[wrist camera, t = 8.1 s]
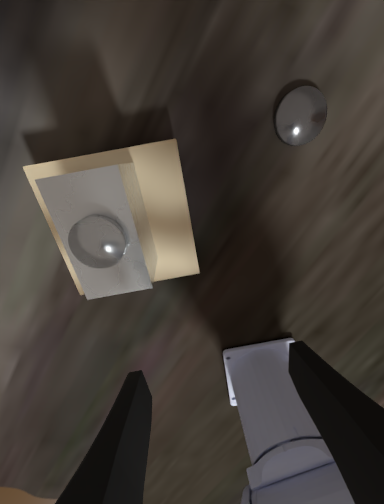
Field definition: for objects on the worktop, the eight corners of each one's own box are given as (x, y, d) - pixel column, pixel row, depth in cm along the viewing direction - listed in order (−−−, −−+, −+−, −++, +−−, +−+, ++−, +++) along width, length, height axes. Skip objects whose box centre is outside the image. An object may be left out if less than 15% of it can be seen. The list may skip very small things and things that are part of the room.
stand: (197, 262, 20) (199, 273, 18) (88, 282, 20) (80, 294, 18) (175, 140, 16) (176, 138, 14) (40, 165, 16) (22, 166, 14)
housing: (133, 162, 14) (114, 164, 10) (157, 257, 17) (151, 293, 13) (73, 173, 14) (26, 180, 10) (107, 266, 17) (83, 305, 13)
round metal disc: (317, 142, 17) (323, 141, 16) (271, 148, 17) (275, 148, 16) (322, 86, 16) (330, 82, 15) (272, 92, 15) (277, 89, 15)
